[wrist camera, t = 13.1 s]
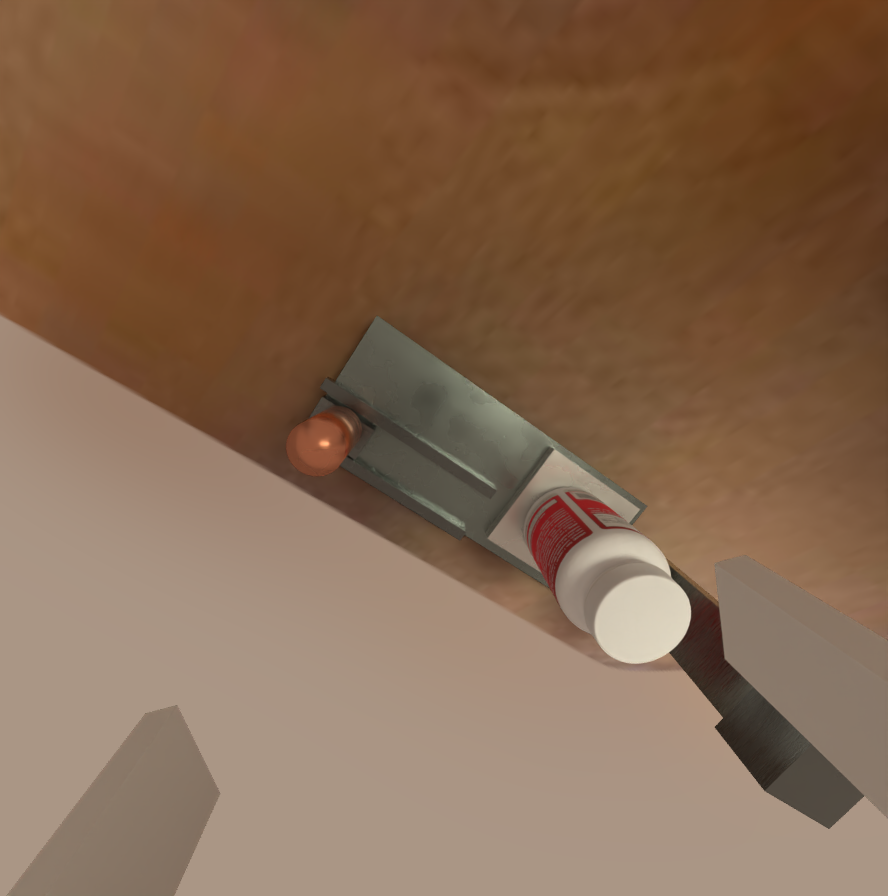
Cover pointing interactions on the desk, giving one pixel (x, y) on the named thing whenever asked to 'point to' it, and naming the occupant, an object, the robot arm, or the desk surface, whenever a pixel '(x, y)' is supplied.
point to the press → (502, 529)
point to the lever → (327, 438)
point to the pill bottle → (606, 576)
